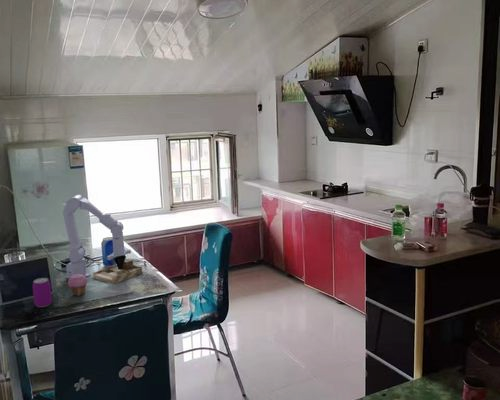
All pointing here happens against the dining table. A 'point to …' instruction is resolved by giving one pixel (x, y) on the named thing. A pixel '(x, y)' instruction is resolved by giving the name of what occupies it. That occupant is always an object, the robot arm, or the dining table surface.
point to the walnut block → (128, 264)
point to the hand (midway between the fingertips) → (120, 269)
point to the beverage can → (42, 292)
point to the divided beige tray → (116, 273)
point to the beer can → (107, 251)
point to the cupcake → (78, 284)
